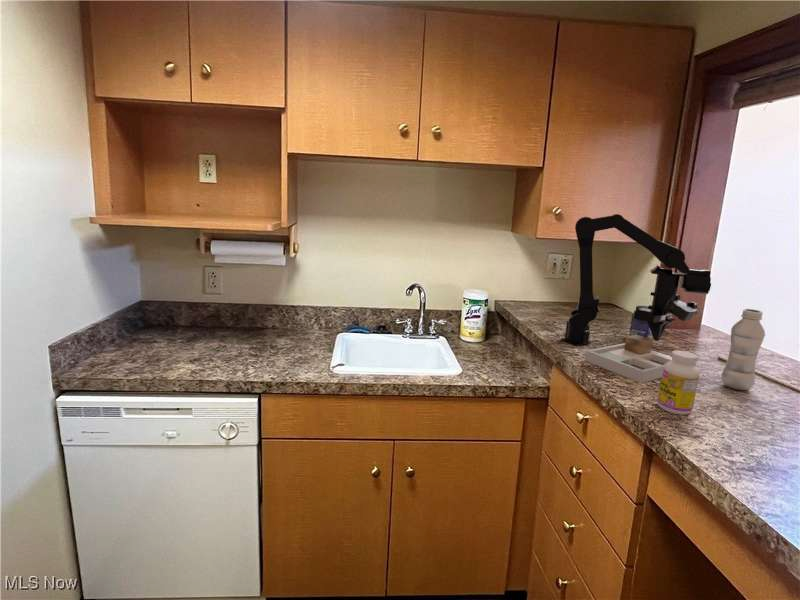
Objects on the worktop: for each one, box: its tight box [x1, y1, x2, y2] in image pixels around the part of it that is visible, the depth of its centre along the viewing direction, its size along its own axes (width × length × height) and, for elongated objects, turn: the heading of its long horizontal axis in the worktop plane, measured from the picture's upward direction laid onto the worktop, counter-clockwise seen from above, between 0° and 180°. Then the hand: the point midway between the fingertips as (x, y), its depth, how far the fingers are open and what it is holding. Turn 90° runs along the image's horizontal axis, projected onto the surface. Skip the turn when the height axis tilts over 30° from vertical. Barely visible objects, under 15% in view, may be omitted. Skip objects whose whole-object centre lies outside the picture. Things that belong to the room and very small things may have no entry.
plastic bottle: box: [720, 308, 766, 391], centre depth 109 cm, size 6×7×20 cm
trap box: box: [584, 342, 672, 384], centre depth 124 cm, size 17×22×3 cm
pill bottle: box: [628, 305, 652, 339], centre depth 148 cm, size 6×6×11 cm
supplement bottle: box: [656, 349, 701, 416], centre depth 97 cm, size 7×7×13 cm
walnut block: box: [624, 335, 654, 355], centre depth 129 cm, size 5×5×4 cm
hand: (656, 340), depth 134 cm, fingers closed
